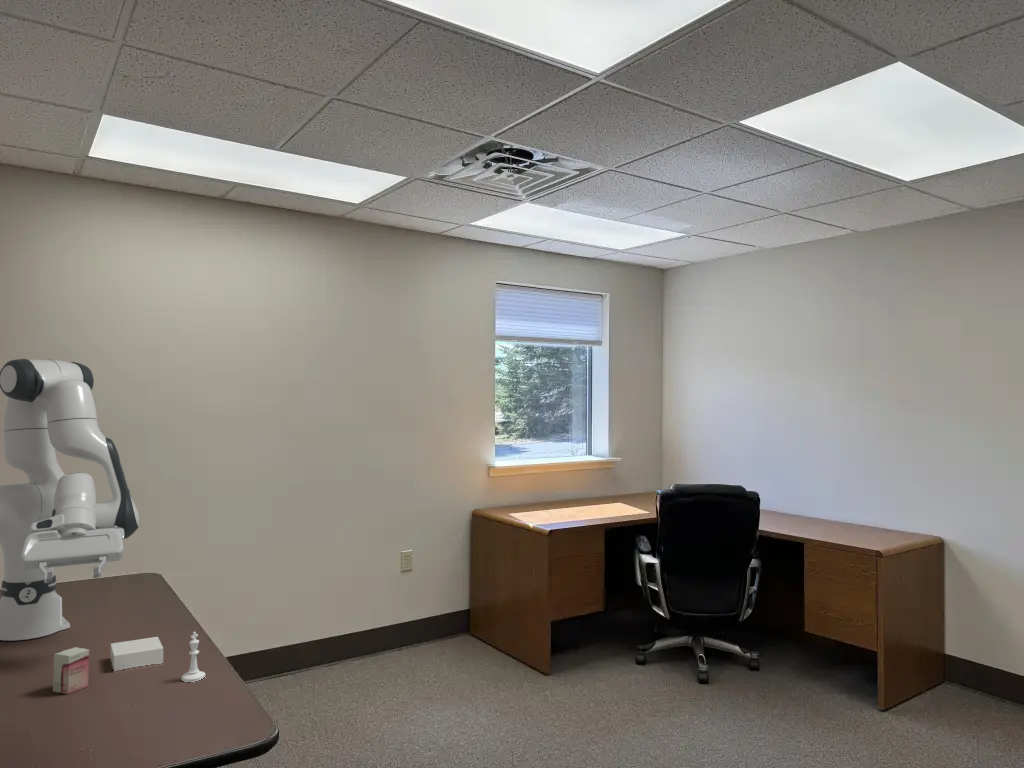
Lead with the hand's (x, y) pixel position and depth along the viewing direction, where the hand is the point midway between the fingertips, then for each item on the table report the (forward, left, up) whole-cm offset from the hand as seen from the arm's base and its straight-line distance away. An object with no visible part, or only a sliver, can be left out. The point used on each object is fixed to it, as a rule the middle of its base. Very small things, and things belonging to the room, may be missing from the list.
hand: (73, 578), depth 165 cm
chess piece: (+18, +23, -21) cm, 36 cm away
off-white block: (0, +13, -21) cm, 25 cm away
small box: (+12, 0, -21) cm, 24 cm away
